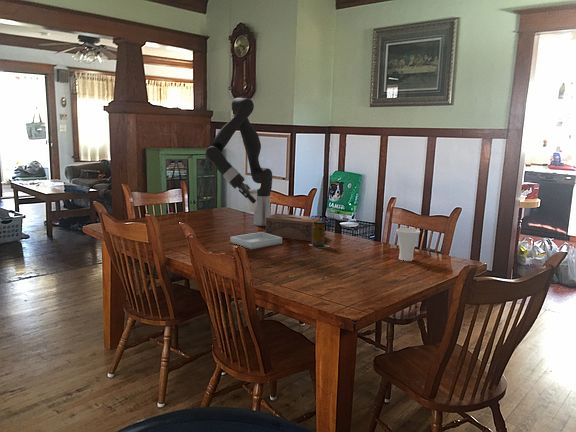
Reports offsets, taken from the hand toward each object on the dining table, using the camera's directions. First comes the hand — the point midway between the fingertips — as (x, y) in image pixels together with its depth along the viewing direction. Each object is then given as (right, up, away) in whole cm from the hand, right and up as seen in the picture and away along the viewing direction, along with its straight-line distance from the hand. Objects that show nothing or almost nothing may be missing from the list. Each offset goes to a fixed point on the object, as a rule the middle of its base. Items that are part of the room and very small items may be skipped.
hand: (255, 201), depth 260 cm
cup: (+71, -28, -35) cm, 83 cm away
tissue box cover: (+20, -19, +5) cm, 28 cm away
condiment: (+32, -23, -15) cm, 42 cm away
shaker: (-2, -5, +1) cm, 5 cm away
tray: (+1, -21, -14) cm, 26 cm away
